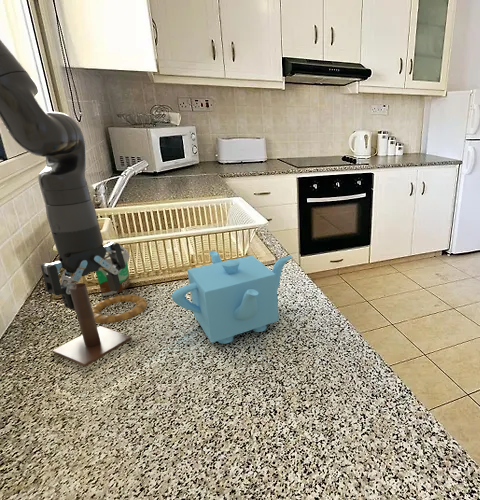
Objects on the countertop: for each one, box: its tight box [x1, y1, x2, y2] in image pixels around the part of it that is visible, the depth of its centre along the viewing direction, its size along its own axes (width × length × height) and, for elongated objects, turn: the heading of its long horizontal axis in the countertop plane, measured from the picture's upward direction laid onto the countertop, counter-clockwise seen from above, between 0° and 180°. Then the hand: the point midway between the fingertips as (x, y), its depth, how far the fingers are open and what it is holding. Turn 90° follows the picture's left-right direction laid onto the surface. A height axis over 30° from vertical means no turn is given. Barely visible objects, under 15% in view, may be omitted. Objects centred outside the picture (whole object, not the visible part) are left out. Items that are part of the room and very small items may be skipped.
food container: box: [95, 245, 131, 297], centre depth 91 cm, size 12×6×10 cm, turn 22°
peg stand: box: [51, 282, 133, 368], centre depth 68 cm, size 9×9×14 cm
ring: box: [91, 294, 148, 324], centre depth 82 cm, size 11×11×2 cm
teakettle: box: [171, 250, 293, 345], centre depth 77 cm, size 19×19×15 cm
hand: (95, 299), depth 77 cm, fingers open, 8 cm apart
